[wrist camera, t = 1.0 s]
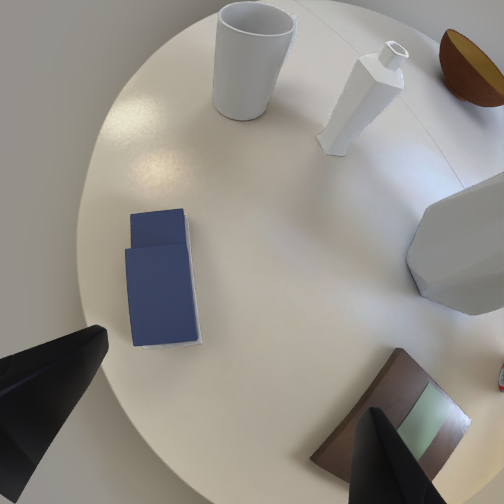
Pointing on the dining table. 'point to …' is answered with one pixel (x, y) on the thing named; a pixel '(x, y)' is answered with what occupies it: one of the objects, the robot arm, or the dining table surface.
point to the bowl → (470, 71)
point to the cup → (501, 380)
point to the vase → (462, 249)
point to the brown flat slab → (401, 418)
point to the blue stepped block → (161, 281)
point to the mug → (249, 56)
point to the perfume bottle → (364, 97)
